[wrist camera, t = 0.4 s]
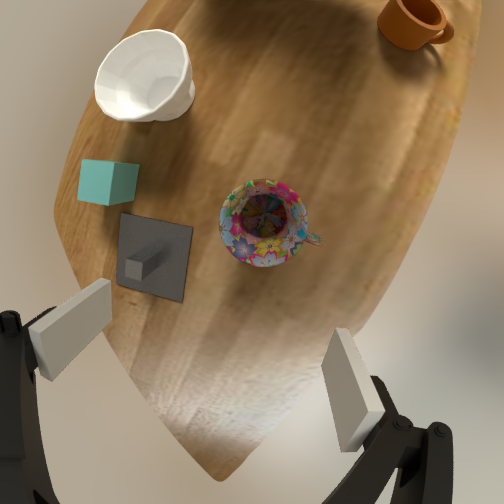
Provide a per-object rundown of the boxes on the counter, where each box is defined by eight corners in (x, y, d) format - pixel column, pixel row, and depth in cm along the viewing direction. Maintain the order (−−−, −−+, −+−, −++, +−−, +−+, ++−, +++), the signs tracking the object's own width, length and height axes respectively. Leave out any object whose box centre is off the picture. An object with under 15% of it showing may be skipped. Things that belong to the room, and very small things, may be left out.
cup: (118, 106, 36) (78, 90, 25) (169, 47, 33) (142, 16, 23) (169, 150, 38) (135, 141, 27) (226, 87, 35) (211, 57, 24)
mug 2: (433, 70, 31) (460, 54, 22) (372, 33, 31) (390, 8, 22) (440, 37, 29) (464, 19, 20) (382, 3, 28) (399, -23, 20)
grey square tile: (122, 212, 40) (100, 218, 34) (193, 227, 40) (179, 236, 34) (117, 282, 43) (98, 297, 37) (182, 300, 43) (169, 319, 37)
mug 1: (223, 232, 40) (207, 249, 30) (244, 170, 38) (235, 166, 28) (301, 260, 41) (311, 287, 30) (325, 200, 38) (344, 208, 28)
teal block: (110, 160, 38) (82, 159, 31) (139, 164, 38) (114, 162, 31) (105, 195, 40) (77, 199, 32) (134, 200, 40) (108, 205, 32)
